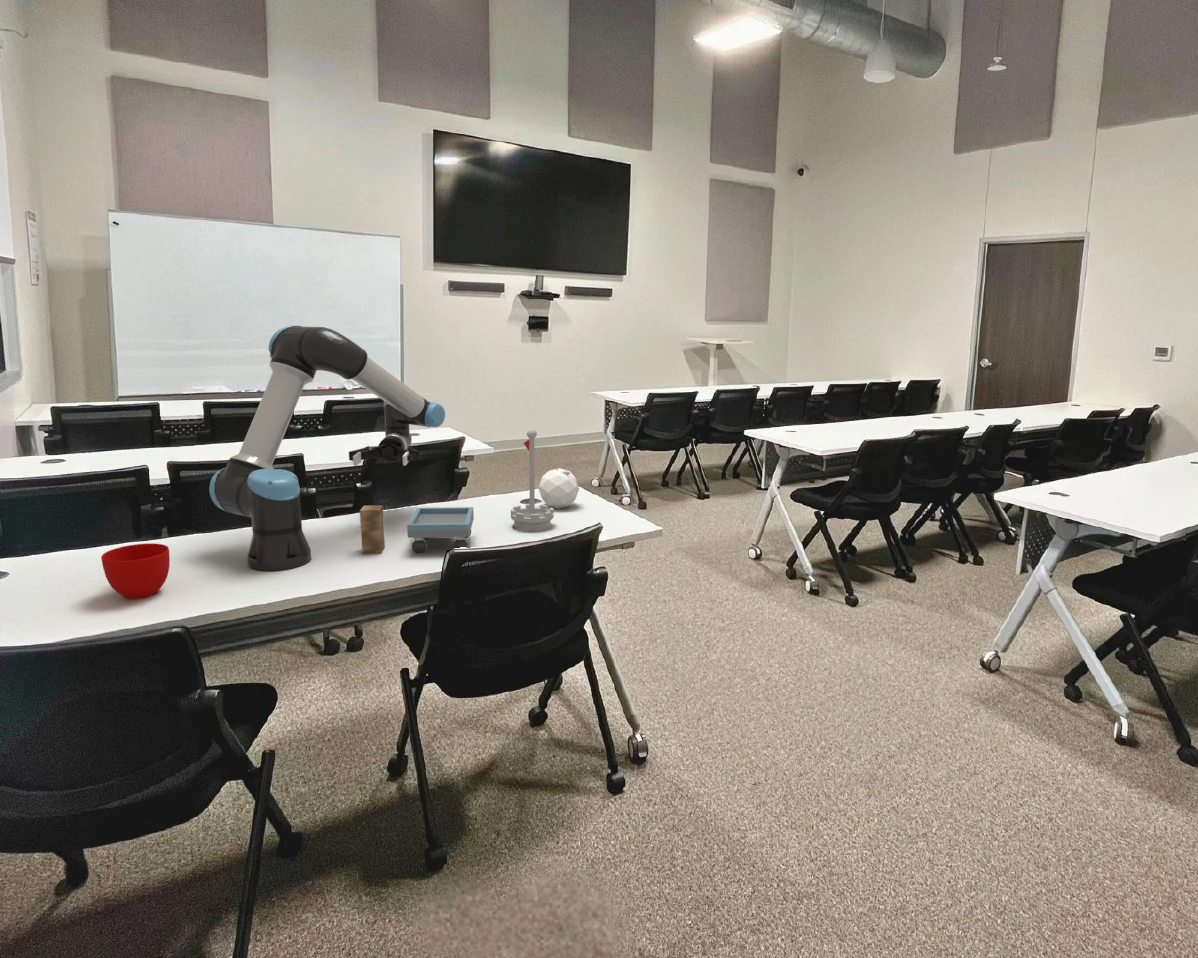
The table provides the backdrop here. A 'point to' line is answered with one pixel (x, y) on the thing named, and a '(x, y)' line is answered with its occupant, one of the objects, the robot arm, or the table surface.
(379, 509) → the walnut block
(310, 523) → the table surface
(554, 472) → the geodesic sphere
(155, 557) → the red bowl
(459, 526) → the wheeled cart
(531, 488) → the flag stand
